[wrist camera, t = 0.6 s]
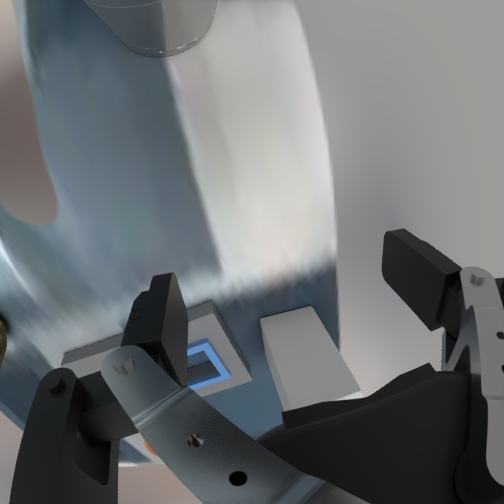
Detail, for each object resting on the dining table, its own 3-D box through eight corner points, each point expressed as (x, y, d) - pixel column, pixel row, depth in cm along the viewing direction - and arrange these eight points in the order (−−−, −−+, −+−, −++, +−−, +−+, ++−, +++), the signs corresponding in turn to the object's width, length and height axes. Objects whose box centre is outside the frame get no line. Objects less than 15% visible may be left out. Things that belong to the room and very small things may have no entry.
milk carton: (259, 317, 37) (306, 448, 21) (311, 304, 38) (379, 420, 21) (264, 353, 41) (305, 470, 24) (311, 341, 41) (366, 448, 25)
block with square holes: (64, 353, 34) (59, 369, 31) (211, 299, 35) (213, 317, 32) (118, 405, 41) (117, 421, 38) (249, 367, 41) (254, 384, 38)
